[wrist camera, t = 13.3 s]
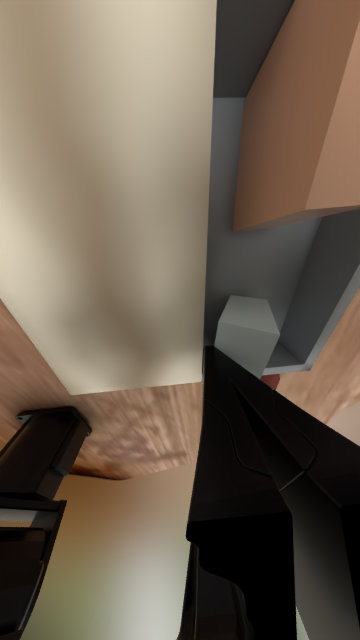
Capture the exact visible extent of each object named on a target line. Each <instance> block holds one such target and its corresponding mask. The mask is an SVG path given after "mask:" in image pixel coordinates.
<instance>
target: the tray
mask: <svg viewBox="0 0 360 640" xmlns="http://www.w3.org/2000/svg"><path fill="white" fill-rule="evenodd" d="M294 1H295V0H217V7H216V32H215V57H214V82H213V107H212V132H211V157H210V182H209V206H208V231H207V256H206V281H205V306H204V331H203V356H202V381H201V382H203V367H204V346H206V345H213V346H214V344H215V339H216V333H217V328H218V322H219V319H220V317H221V315H222V313H223V311H224V309H225V306H226V304H227V302H228V300H229V298H230V295H236V296H243V297H250V298H258V299H265V300H267V301H268V303H269V306H270V309H271V311H272V314H273V317H274V319H275V322H276V325H277V327H278V330H279V333H280V336H279V339H278V341H277V343H276V345H275V347H274V350H273V352H272V354H271V356H270V359H269V361H268V363H267V365H266V367H265V370H264V372H263V374H262V375H271V374H281V373H290V372H300V371H310V369H311V367H312V366H313V364H314V362H315V361H316V359H317V357H318V356H319V354H320V352H321V351H322V349H323V347H324V346H325V344H326V342H327V341H328V339H329V337H330V336H331V334H332V332H333V331H334V329H335V327H336V325H337V324H338V322H339V320H340V319H341V317H342V315H343V314H344V312H345V310H346V309H347V307H348V305H349V304H350V302H351V300H352V299H353V297H354V295H355V294H356V292H357V290H358V289H359V287H360V208H359V209H355V210H350V211H346V212H341V213H337V214H332V215H328V216H324V217H319V218H315V219H310V220H306V221H301V222H297V223H292V224H288V225H284V226H279V227H275V228H270V229H259V230H248V231H237V232H233V220H234V209H235V198H236V187H237V175H238V164H239V153H240V141H241V130H242V119H243V108H244V100H245V98H246V96H247V94H248V92H249V90H250V88H251V86H252V84H253V82H254V80H255V78H256V76H257V74H258V72H259V70H260V68H261V66H262V64H263V62H264V60H265V58H266V56H267V54H268V52H269V50H270V48H271V47H272V45H273V43H274V41H275V39H276V37H277V35H278V33H279V31H280V29H281V27H282V25H283V23H284V21H285V19H286V17H287V15H288V13H289V11H290V9H291V7H292V5H293V3H294Z"/></svg>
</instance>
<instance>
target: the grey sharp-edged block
mask: <svg viewBox="0 0 360 640" xmlns="http://www.w3.org/2000/svg"><path fill="white" fill-rule="evenodd" d="M279 336H280V333H279V330H278V327H277V325H276V322H275V319H274V317H273V314H272V311H271V309H270V306H269V303H268V301H267V300H265V299H258V298H250V297H243V296H236V295H230V298H229V300H228V302H227V304H226V306H225V309H224V311H223V313H222V315H221V317H220V319H219V322H218V328H217V333H216V339H215V344H214V346H215V347H216V348H218V349H219V350H220V351H222V352H223V353H224V354H226V355H227V356H229V357H230V358H231V359H233V360H234V361H235V362H237V363H238V364H240V365H241V366H242V367H244V368H245V369H246V370H248V371H249V372H251V373H252V374H253V375H255V376H256V377H257V378H259V379H260V378H261V376H262V374H263V372H264V370H265V367H266V365H267V363H268V361H269V359H270V356H271V354H272V352H273V350H274V347H275V345H276V343H277V341H278V339H279Z"/></svg>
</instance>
